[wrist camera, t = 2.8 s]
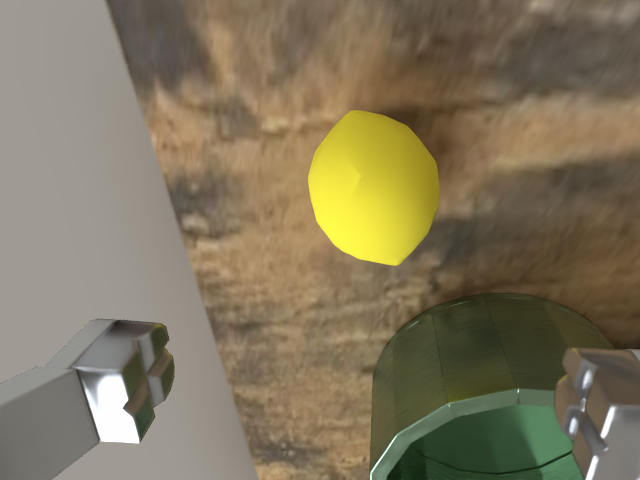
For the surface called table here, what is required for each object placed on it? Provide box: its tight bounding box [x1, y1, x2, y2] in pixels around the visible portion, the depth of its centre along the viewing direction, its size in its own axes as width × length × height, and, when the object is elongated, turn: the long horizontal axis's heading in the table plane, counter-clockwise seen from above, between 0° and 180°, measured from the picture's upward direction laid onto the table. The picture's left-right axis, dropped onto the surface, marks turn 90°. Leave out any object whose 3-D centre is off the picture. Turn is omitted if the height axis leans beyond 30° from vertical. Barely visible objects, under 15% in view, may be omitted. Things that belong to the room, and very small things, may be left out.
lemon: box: [308, 110, 440, 266], centre depth 19 cm, size 7×5×5 cm
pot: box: [369, 293, 617, 480], centre depth 23 cm, size 14×14×7 cm
